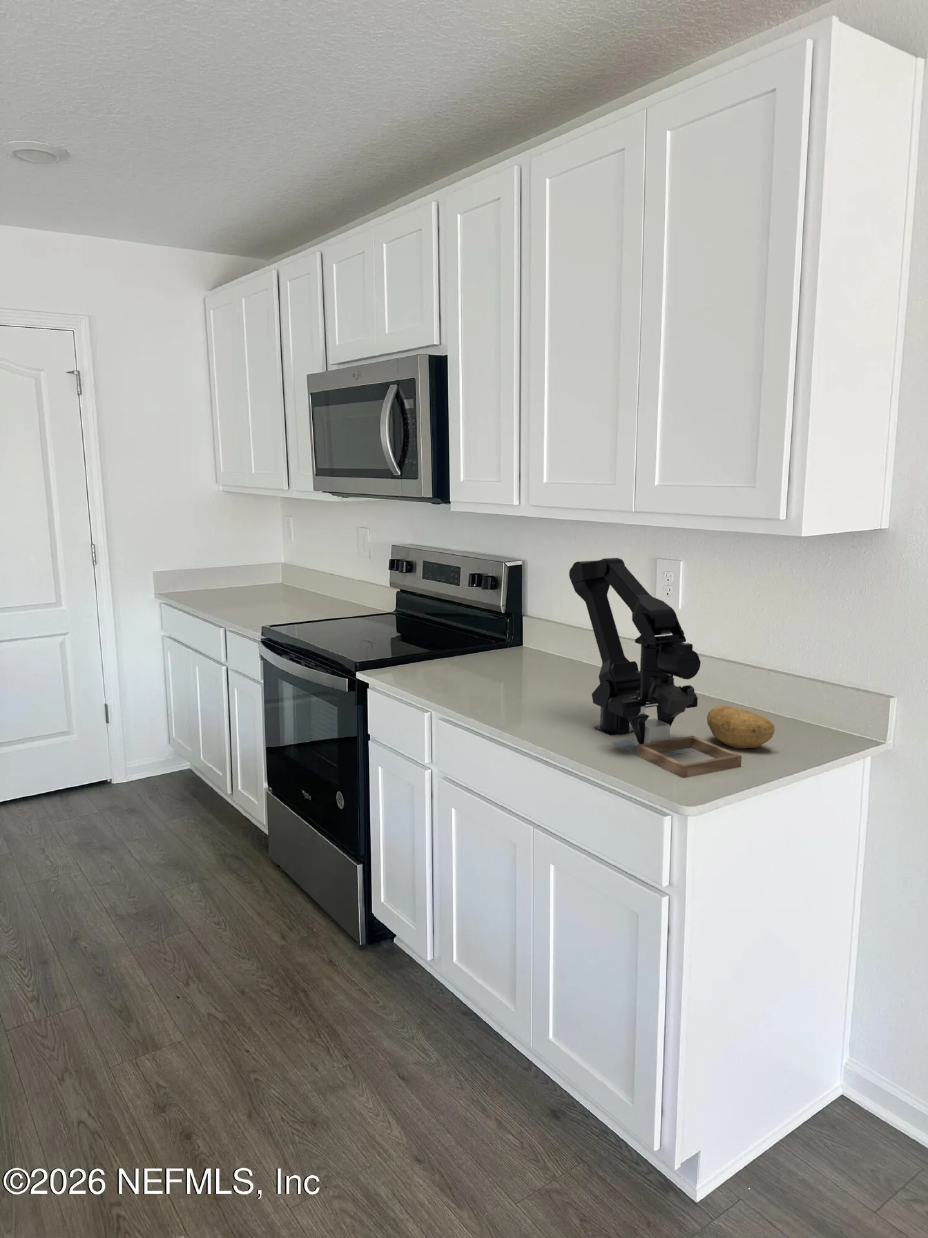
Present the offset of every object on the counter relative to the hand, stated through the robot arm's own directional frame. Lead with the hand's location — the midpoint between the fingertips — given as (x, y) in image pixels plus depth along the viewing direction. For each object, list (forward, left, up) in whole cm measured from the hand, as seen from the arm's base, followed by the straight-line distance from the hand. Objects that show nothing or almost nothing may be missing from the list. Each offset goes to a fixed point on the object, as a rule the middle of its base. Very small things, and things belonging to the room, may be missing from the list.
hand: (651, 742), depth 177 cm
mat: (0, 0, -1) cm, 1 cm away
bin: (+10, +1, -1) cm, 10 cm away
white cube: (0, 0, -1) cm, 1 cm away
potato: (+7, +17, -2) cm, 18 cm away
